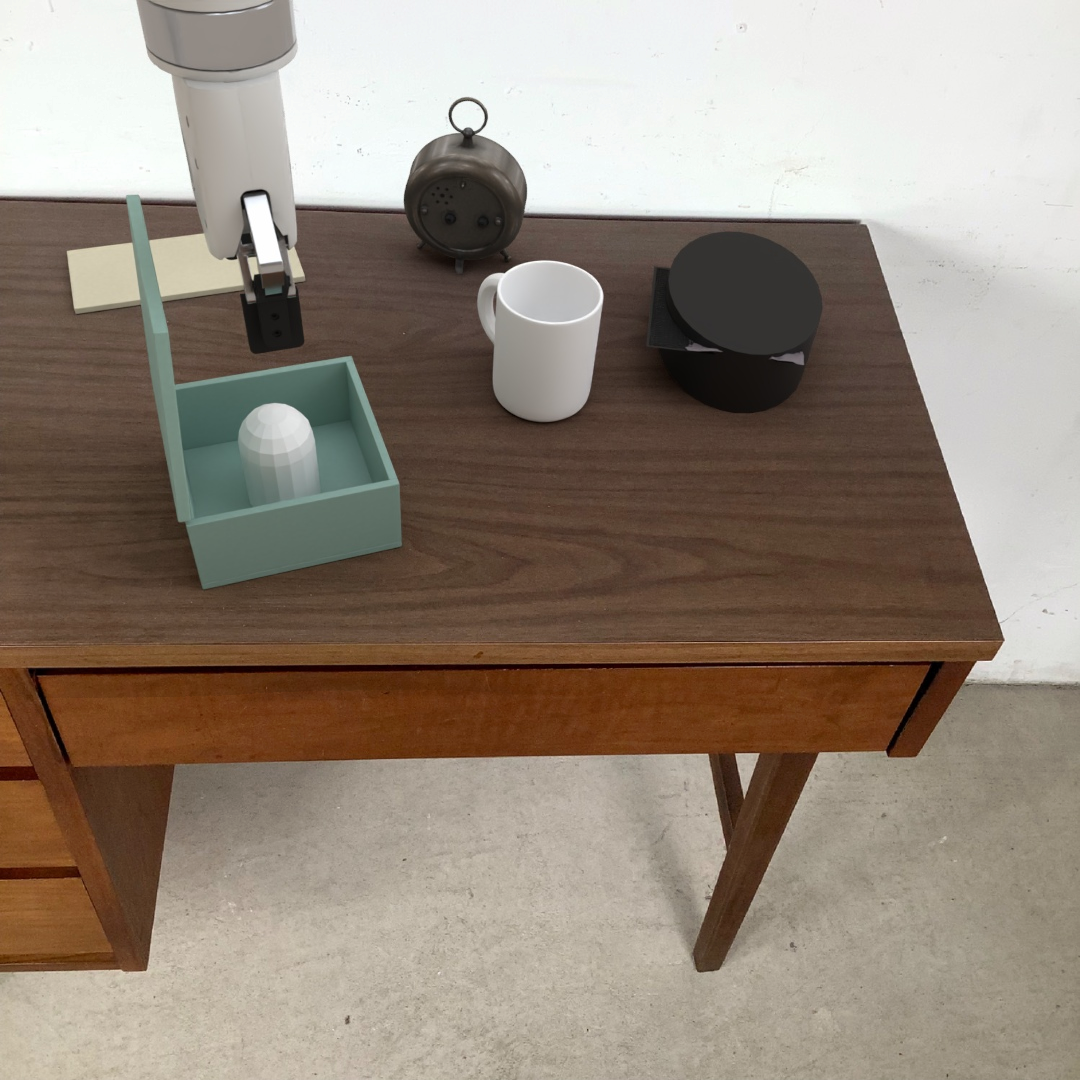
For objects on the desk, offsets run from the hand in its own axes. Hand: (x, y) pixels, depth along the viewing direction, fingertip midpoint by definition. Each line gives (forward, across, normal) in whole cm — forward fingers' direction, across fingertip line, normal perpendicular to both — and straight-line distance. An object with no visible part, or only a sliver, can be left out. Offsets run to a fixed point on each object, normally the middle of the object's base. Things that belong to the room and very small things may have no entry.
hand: (262, 299), depth 67 cm
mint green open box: (+18, 0, -1) cm, 18 cm away
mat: (+18, -31, -4) cm, 36 cm away
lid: (+4, 0, -7) cm, 7 cm away
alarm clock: (+19, -26, +21) cm, 39 cm away
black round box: (+19, -8, +40) cm, 45 cm away
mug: (+18, -8, +21) cm, 29 cm away
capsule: (+18, 0, -1) cm, 18 cm away
